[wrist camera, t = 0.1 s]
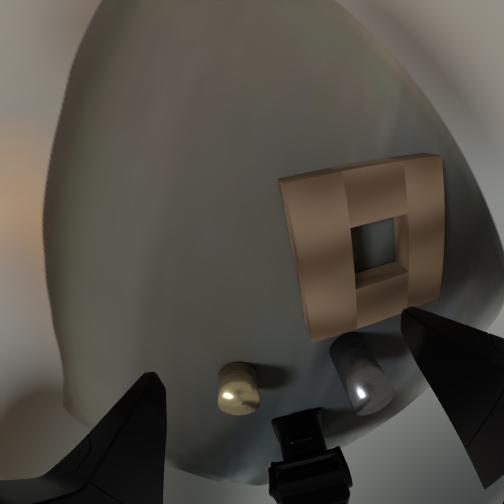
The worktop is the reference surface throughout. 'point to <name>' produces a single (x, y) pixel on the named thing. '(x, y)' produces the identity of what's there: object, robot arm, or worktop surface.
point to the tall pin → (360, 374)
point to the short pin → (237, 389)
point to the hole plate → (340, 244)
